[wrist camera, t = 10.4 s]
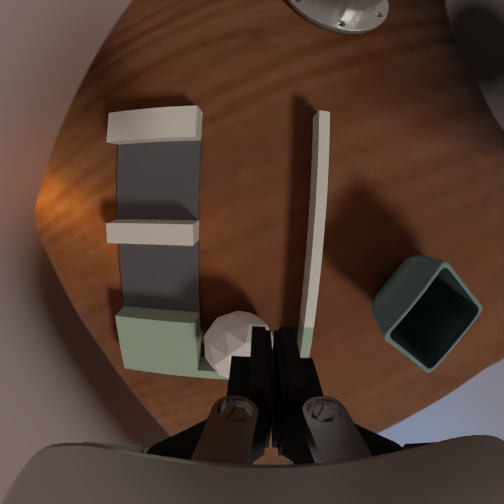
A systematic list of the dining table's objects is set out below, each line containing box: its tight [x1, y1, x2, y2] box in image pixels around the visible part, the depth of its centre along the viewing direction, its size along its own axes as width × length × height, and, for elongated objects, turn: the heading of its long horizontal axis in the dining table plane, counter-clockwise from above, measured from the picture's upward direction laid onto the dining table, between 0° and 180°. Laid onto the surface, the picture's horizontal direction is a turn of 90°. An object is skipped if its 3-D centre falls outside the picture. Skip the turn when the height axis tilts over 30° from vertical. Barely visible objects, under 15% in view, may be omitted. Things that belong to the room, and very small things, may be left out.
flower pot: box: [372, 255, 482, 373], centre depth 27 cm, size 9×9×9 cm
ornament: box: [204, 311, 273, 378], centre depth 29 cm, size 7×7×8 cm
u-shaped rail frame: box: [106, 106, 330, 379], centre depth 29 cm, size 28×21×3 cm
